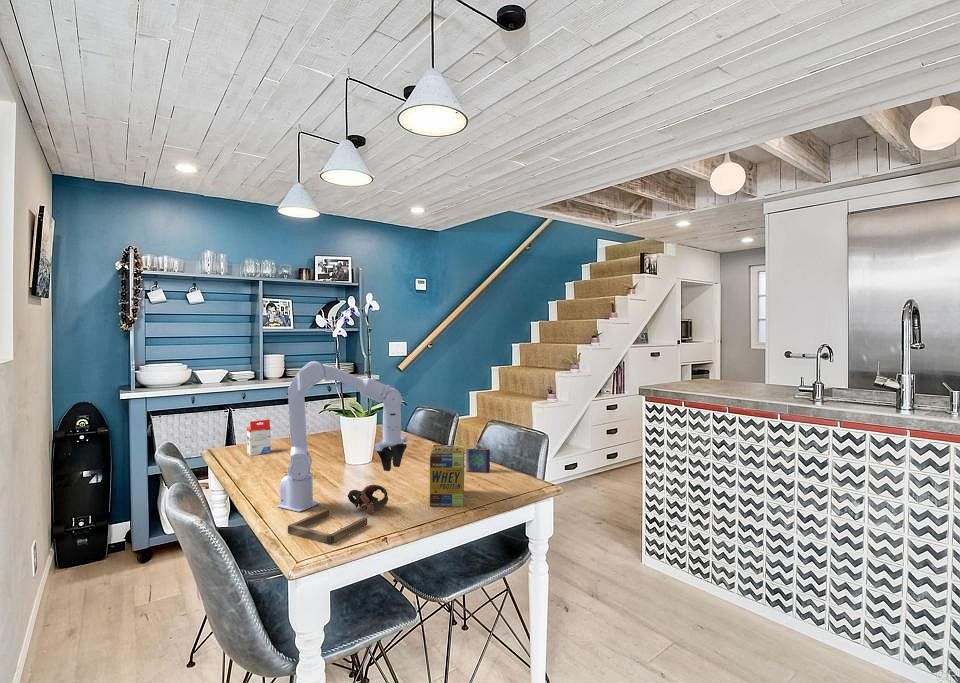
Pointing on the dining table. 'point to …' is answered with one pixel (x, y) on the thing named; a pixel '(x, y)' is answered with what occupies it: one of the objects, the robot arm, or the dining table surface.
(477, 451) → the navy clover print box
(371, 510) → the dark brown curved piece
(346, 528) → the walnut open-sided frame
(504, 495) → the dining table surface
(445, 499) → the protein box
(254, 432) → the ink box
